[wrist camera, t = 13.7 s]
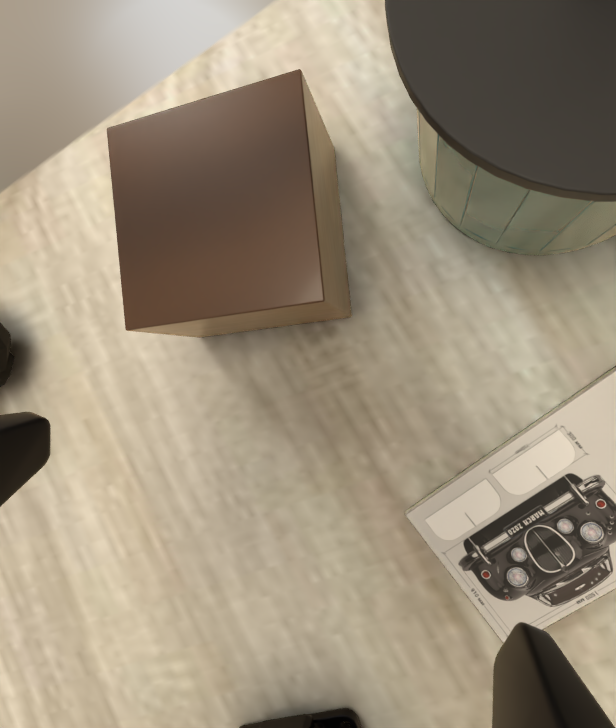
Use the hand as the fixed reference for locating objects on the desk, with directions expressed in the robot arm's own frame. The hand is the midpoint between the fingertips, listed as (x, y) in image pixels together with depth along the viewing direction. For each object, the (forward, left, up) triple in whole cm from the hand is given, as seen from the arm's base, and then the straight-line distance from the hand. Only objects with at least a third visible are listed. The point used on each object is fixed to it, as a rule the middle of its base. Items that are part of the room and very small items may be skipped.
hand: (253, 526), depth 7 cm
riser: (+10, +1, -12) cm, 16 cm away
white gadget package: (-5, -9, -12) cm, 16 cm away
